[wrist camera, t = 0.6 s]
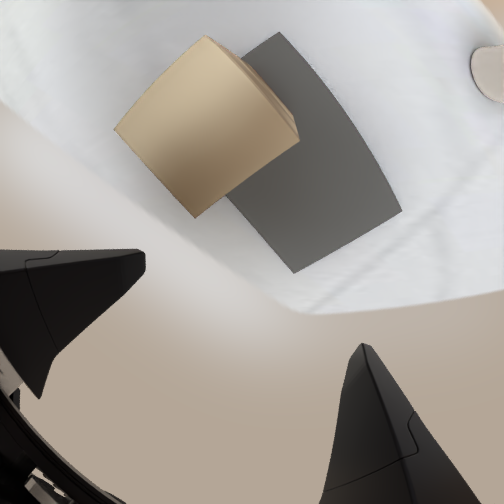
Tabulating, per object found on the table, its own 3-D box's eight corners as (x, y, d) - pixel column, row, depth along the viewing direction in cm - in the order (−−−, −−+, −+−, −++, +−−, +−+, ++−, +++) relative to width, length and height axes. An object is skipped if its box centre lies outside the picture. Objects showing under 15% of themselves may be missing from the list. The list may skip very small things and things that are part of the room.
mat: (166, 125, 20) (163, 126, 20) (279, 33, 15) (279, 31, 15) (293, 270, 27) (293, 273, 26) (400, 208, 22) (402, 211, 21)
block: (201, 106, 19) (113, 129, 9) (250, 66, 17) (205, 34, 7) (241, 152, 21) (194, 218, 11) (292, 115, 18) (300, 140, 8)
